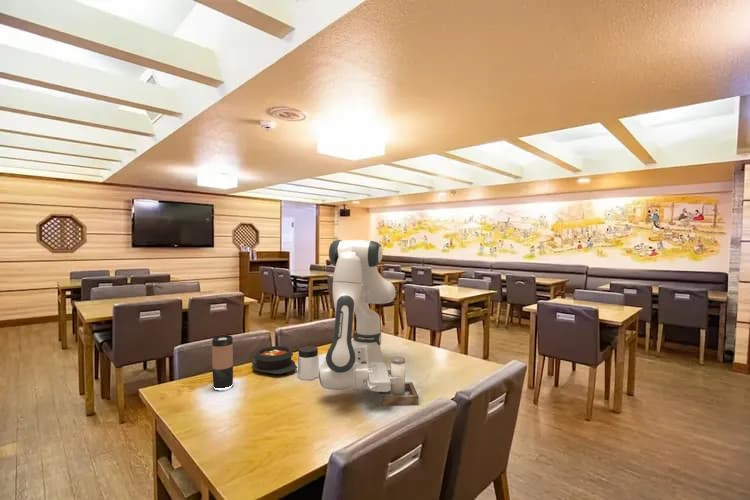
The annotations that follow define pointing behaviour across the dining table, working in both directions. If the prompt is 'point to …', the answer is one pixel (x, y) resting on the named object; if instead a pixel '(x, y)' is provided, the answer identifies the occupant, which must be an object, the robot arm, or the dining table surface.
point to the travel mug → (222, 361)
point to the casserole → (274, 360)
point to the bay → (402, 397)
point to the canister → (398, 370)
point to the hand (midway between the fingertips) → (400, 375)
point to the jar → (308, 363)
